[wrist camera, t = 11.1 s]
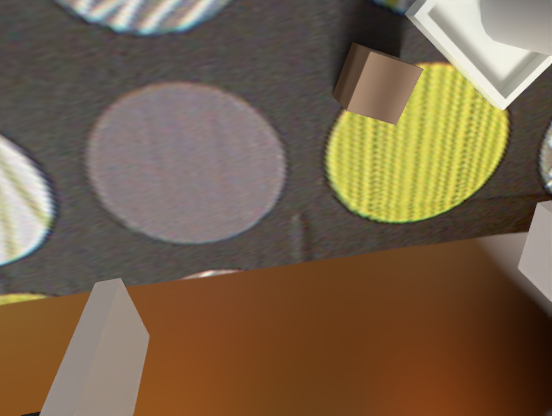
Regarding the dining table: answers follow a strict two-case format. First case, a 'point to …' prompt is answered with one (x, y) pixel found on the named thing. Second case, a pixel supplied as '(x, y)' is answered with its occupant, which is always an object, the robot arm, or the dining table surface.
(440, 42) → the tray
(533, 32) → the can
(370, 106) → the walnut block
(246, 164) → the dining table surface
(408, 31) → the dining table surface
